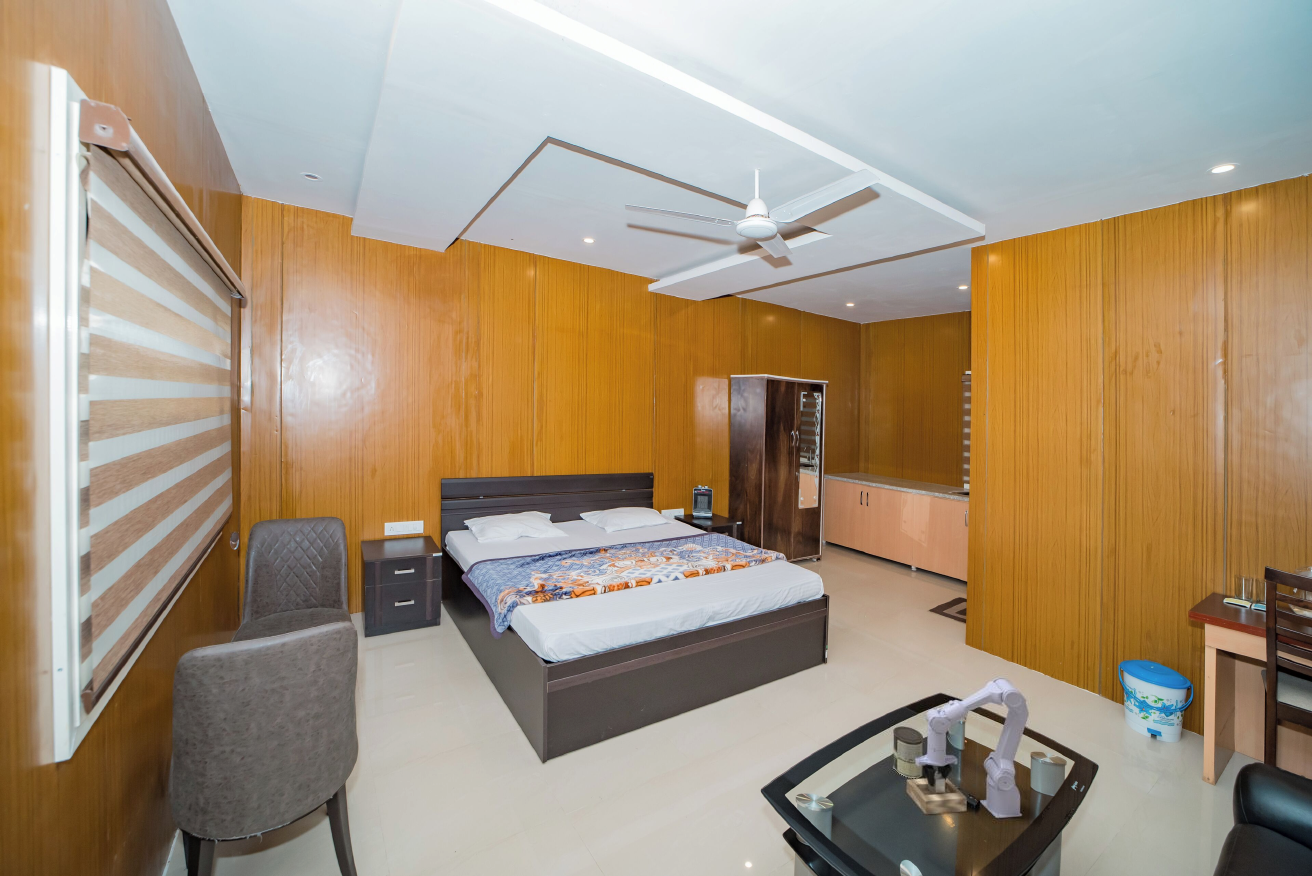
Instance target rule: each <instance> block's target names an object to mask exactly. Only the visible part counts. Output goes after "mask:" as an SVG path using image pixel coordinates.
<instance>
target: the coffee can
mask: <svg viewBox="0 0 1312 876" xmlns="http://www.w3.org/2000/svg"><path fill="white" fill-rule="evenodd" d="M923 742H924V737H923V734H922V733H921V732H920V731H918V730H917V729H915V728H912V727H909V726H896V727H895V728H894V729H893V759H892V760H893V763H892V764H893V765H892V768H893V770H894V769H895V770H896V771H897V772H898V773H899V774H898V773H897V772H896V771H895V770H894V771H895V772H896V773H897V774H898V775H900V774H901V775H900V776H902V775H903V776H902V777H904V776H905V778H907V777H908V778H907V779H912V778H913V779H915V778H916V779H920V778H921V777H922V776H923V766H922V765H921V767H918V766H917V765H916V764H915V758H919V757H922V756H924V755H923Z"/></svg>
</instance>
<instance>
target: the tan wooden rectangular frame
mask: <svg viewBox="0 0 1312 876" xmlns="http://www.w3.org/2000/svg"><path fill="white" fill-rule="evenodd" d="M906 793H907V794H908V796H909V797H910V798H911V799H912V800H913V802H914V803H915V804H916V805H917V806H918V807H919V809H920V810H921V811H922V812H923V813H924V814H925V815H934V814H944V813H945V814H946V813H958V812H967V811H968V810H967V804H968V803H967V801H968V800H967V799H968V798H967V797H966V796H965V795H964V794H963V793H962V791H960V790H959V789H958V787H956V785H954V783H952V782H951V780H949V778H948V777H947V778H946V781H945V794H933V793H932V792H931V791H930V790H929V789H928V780H927V777H926V778H924V777H923V778H916V779H912V778H909V779H906Z"/></svg>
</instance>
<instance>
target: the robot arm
mask: <svg viewBox="0 0 1312 876" xmlns="http://www.w3.org/2000/svg"><path fill="white" fill-rule="evenodd" d="M989 703H991V704H995V705H999V706H1002V707H1003V705H1005V706H1006V707H1007V709H1008V711H1007V714H1006V717H1005V720H1004V722H1003V723H1004V724H1003V726H1002V729H1001V733H1000V736H999V739H998V742H997V745H996V747H995V748H996V749H995V750H994V751H990V753H989V756H988V757H986V759H985V760H984V762H983V768H984V770H985V771H986V773H987V776H986V792H985V793H986V796H985V797H986V799H984V800H983V799H982V800H979V801H980V803H981V805H983V807H984V808H985V809H987V810H988V812H990V813H991V814H992V815H993V817H995V819H1003V818H1004V819H1005V818H1012V817H1013V818H1014V817H1016V818H1017V817H1022V816H1023V814H1022V813H1021V794H1020V791H1019V788H1018V787H1017V785H1016V780H1015V775H1016V769H1015V766H1014V760H1015V758H1016V755H1017V752H1018V748H1019V745H1020V742H1021V740H1022V737H1023V733H1024V730H1025V727H1026V724H1027V721H1028V719H1029V714H1030V712H1029V709H1028V706H1027V699H1026V697H1025V696H1024V695H1023V694H1022V692H1020V691H1019V690H1018V689H1017V688H1016V687H1015V686H1014V685H1013V684H1012V683H1011V681H1009V679H1007V678H1005V677H996V678H995V679H993V680H991V681H988V682H987V684H986V685H985V686H984V687H983V688H981V689H980V690H978V691H976V692H974V693H973V694H971V695H969V696H968V697H966V698H964V699H963V700H957V699H955V700H949V701H948V703H946V704H945V705H943V706H941V707H937V708H936V709H934V708H932V709H929V710H928V711H927V712H926V714H925V715H924V717H925V720H926V722H927V740H926V741H927V745H926V746H927V747H926V749H927V752H926V754H925V755H922V757H919V758H915V764H916V765H917V766H918V767H921V765H922V769H924V772H925V776H926V778H927V780H928V784H929V785H930V786H931V787H933V786H934V776H935V773H936V771H938V772H941V773H942V776H943V777H944V778H945V781H946V778H947V779H948V776H949V775H950V773H951V772H952V771H953V769H952V766H951V764H953V765H958V758H957V757H956V756H955V755H950V754H949V755H948V754H946V753H947V752H946V751H947V734H946V733H947V732H948V731H949V729H950V727H951V726H952V725H953V724H955V723H957V722H959V721H961V720H964V719H966V718H967V717H968V713H969V712H970V711H973V710H975V709H977V708H980V707H982V706H985V705H988V704H989ZM934 766H937V770H936V769H935V768H934Z"/></svg>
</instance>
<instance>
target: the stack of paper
mask: <svg viewBox="0 0 1312 876" xmlns="http://www.w3.org/2000/svg"><path fill="white" fill-rule="evenodd" d="M928 789H929V790H930V791H931V792H932V793H933V794H945V778H944V777H943V776H942V773H941V772H938V770H936V773H935V776H934V786H933V787H931V786H930V785H929V784H928Z"/></svg>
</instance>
